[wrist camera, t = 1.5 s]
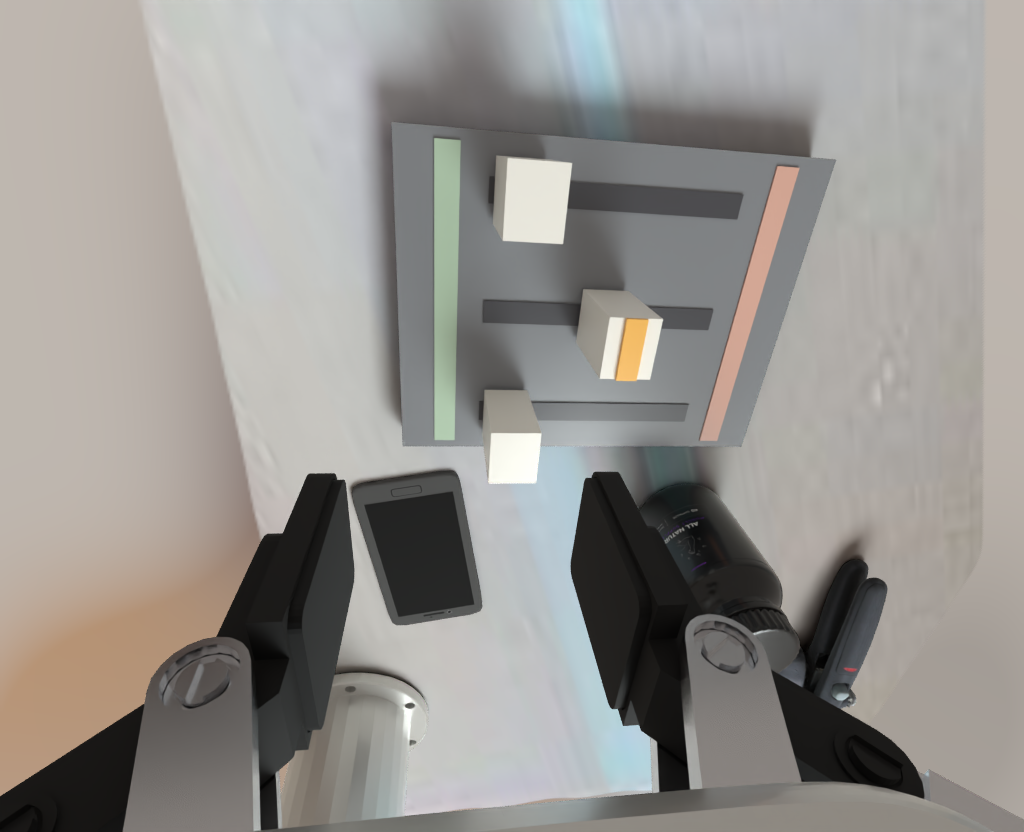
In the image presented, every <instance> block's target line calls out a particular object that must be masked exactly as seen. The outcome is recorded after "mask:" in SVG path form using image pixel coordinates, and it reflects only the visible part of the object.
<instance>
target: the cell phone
mask: <svg viewBox="0 0 1024 832" xmlns="http://www.w3.org/2000/svg"><path fill="white" fill-rule="evenodd" d="M352 497H353V502H354V506H355V509H356V512H357V516H358V519H359V522H360V525H361V528H362V531H363V534H364V538H365V541H366V544H367V547H368V550H369V553H370V556H371V560H372V563H373V566H374V569H375V572H376V575H377V578H378V582H379V585H380V588H381V591H382V594H383V597H384V600H385V604H386V607H387V610H388V613H389V616H390V618H391V620H392V623H394V624H396V625H410V624H416V623H422V622H428V621H434V620H440V619H446V618H452V617H458V616H464V615H470V614H474V613H477V612H479V611H480V610H481V609H482V598H481V591H480V586H479V580H478V575H477V569H476V564H475V559H474V553H473V548H472V542H471V537H470V532H469V526H468V521H467V516H466V510H465V505H464V500H463V494H462V489H461V484H460V480H459V477H458V475H457V473H456V472H454V471H438V472H431V473H425V474H418V475H411V476H404V477H398V478H391V479H384V480H378V481H371V482H364V483H361V484H358V485H356V486H354V487H353V489H352Z"/></svg>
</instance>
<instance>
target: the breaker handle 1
mask: <svg viewBox="0 0 1024 832" xmlns="http://www.w3.org/2000/svg"><path fill="white" fill-rule="evenodd" d="M571 169H572V163H569V162H562V161H556V160H549V159H536V158H523V157H511V156H498V155H496V170H495V190H494V210H493V225H494V227H495V228H496V230H497V232H498V234H499V235H500V237H501V239H502V240H503V241H514V242H532V243H550V244H563V240H564V231H565V222H566V214H567V205H568V196H569V187H570V178H571Z"/></svg>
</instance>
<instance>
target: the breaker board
mask: <svg viewBox="0 0 1024 832" xmlns="http://www.w3.org/2000/svg"><path fill="white" fill-rule="evenodd" d="M391 126H392V155H393V183H394V212H395V240H396V269H397V297H398V326H399V354H400V383H401V411H402V440H403V446H484V445H483V437H482V430H483V410H484V390H527V391H528V394H529V397H530V400H531V403H532V406H533V409H534V412H535V415H536V418H537V421H538V424H539V427H540V430H541V433H542V434H541V443H540V446H667V447H741V446H742V443H743V440H744V437H745V434H746V431H747V428H748V425H749V422H750V419H751V416H752V413H753V410H754V407H755V404H756V401H757V398H758V395H759V392H760V389H761V386H762V383H763V380H764V377H765V374H766V370H767V367H768V364H769V361H770V358H771V355H772V352H773V349H774V346H775V343H776V340H777V337H778V334H779V331H780V328H781V325H782V322H783V319H784V316H785V313H786V310H787V307H788V304H789V301H790V298H791V295H792V292H793V289H794V286H795V283H796V280H797V277H798V274H799V271H800V268H801V265H802V262H803V259H804V255H805V252H806V249H807V246H808V243H809V240H810V237H811V234H812V231H813V228H814V225H815V222H816V219H817V216H818V213H819V210H820V207H821V204H822V201H823V198H824V195H825V192H826V189H827V186H828V183H829V180H830V177H831V174H832V171H833V168H834V165H835V162H836V160H835V159H823V158H811V157H799V156H788V155H776V154H764V153H752V152H740V151H729V150H717V149H705V148H693V147H681V146H670V145H658V144H646V143H634V142H622V141H611V140H599V139H587V138H575V137H563V136H552V135H540V134H528V133H516V132H504V131H493V130H481V129H469V128H457V127H445V126H434V125H422V124H410V123H398V122H391ZM496 155H498V156H511V157H523V158H536V159H549V160H556V161H562V162H569V163H572V169H571V178H570V187H569V196H568V205H567V214H566V222H565V231H564V240H563V244H550V243H532V242H514V241H503V240H502V239H501V237H500V235H499V234H498V232H497V230H496V228H495V227H494V225H493V210H494V190H495V170H496ZM583 289H593V290H616V291H629V292H630V293H631V294H633V295H634V296H635V297H636V298H638V299H639V300H640V301H641V302H643V303H644V304H645V305H646V306H648V307H649V308H650V309H651V310H652V311H654V312H655V313H656V314H657V315H659V316H660V317H661V318H662V319H663V322H662V327H661V331H660V336H659V341H658V345H657V350H656V355H655V359H654V364H653V368H652V373H651V378H650V380H637V381H616V380H615V379H599V377H598V375H597V374H596V372H595V371H594V369H593V368H592V366H591V365H590V363H589V362H588V360H587V359H586V357H585V356H584V354H583V352H582V351H581V349H580V348H579V346H578V345H577V343H576V339H577V332H578V324H579V317H580V310H581V302H582V295H583Z"/></svg>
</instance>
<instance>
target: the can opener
mask: <svg viewBox="0 0 1024 832" xmlns="http://www.w3.org/2000/svg"><path fill="white" fill-rule="evenodd" d="M867 575H868V566H867V564H866V563H865V562H863V561H861V560H851V561H849V562H847V563H845V564H844V565H843V566H842V568H841V569H840V571H839V573H838V575H837V576H836V578H835V580H834V582H833V584H832V587H831V589H830V591H829V594H828V596H827V599H826V601H825V605H824V608H823V611H822V613H821V616H820V620H819V623H818V627H817V630H816V633H815V636H814V639H813V641H812V643H811V645H810V647H809V649H808V650H807V651H806V652H805V653H804V652H803V649H802V648H801V647H800V649H799V653H798V654H797V655H796V658H795V659H794V660H793V662H792V663H791V664H790V665H788V666H787V668H785V669H783V670H782V671H781V672H779V673H778V674H780V675H782V676H783V677H785V678H787V679H789V680H790V681H792V682H794V683H796V684H797V685H799V686H801V687H803V688H804V689H806V690H808V691H810V692H811V693H813V694H815V695H817V696H818V697H820V698H822V699H824V700H825V701H827V702H829V703H830V704H832V705H834V706H836V707H837V708H839V709H841V708H843V707H845V708H846V706H848V707H850V706H854V705H855V703H856V697H855V694H854V693H853V692H852V690H851V689H850V688H851V686H852V684H853V682H854V680H855V678H856V676H857V674H858V672H859V670H860V668H861V666H862V664H863V661H864V659H865V657H866V655H867V652H868V650H869V647H870V645H871V642H872V640H873V637H874V634H875V631H876V629H877V626H878V623H879V619H880V616H881V613H882V610H883V606H884V602H885V598H886V594H887V585H886V584H885V582H884V581H882V580H881V579H878V578H869V579H867Z"/></svg>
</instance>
